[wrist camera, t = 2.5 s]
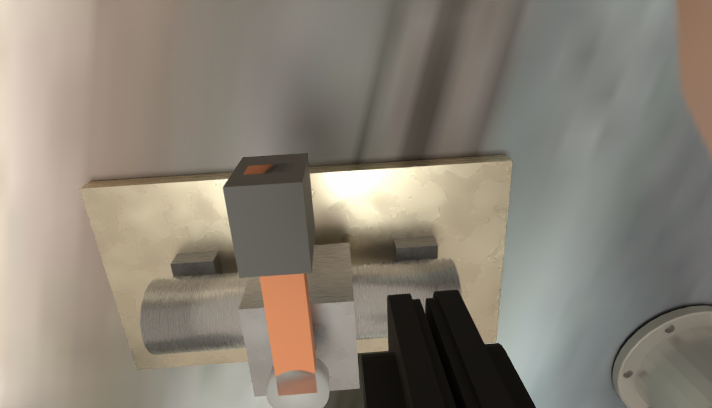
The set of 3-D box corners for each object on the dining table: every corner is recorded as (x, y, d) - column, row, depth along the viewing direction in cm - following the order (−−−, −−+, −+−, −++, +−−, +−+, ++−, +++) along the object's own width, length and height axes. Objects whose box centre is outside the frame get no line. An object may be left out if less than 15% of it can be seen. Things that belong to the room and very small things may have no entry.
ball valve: (504, 154, 32) (593, 221, 21) (490, 330, 38) (552, 452, 27) (90, 181, 31) (-39, 265, 20) (144, 356, 37) (67, 492, 26)
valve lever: (331, 377, 25) (331, 437, 22) (276, 382, 25) (267, 443, 22) (309, 153, 20) (304, 182, 16) (240, 157, 20) (219, 187, 16)
